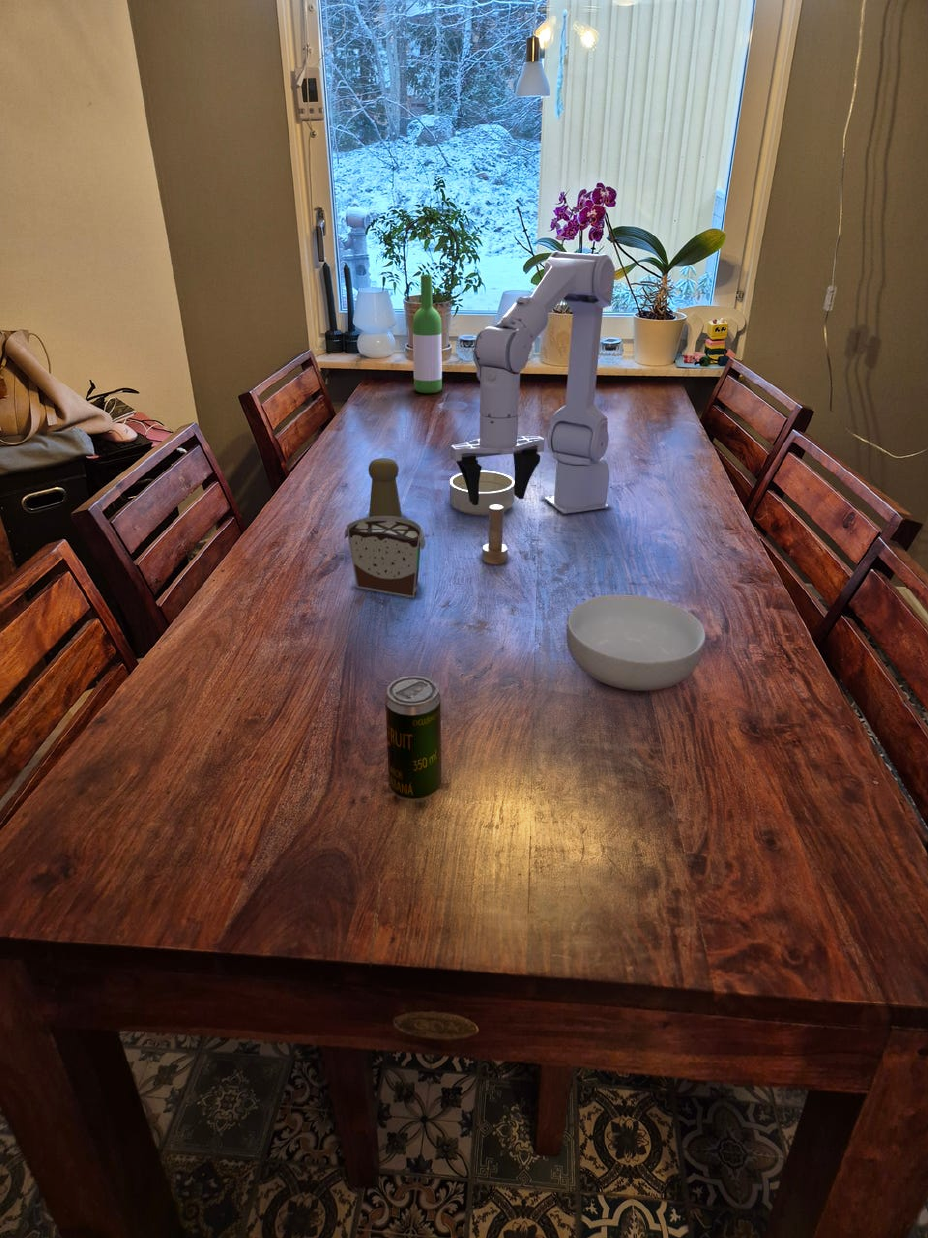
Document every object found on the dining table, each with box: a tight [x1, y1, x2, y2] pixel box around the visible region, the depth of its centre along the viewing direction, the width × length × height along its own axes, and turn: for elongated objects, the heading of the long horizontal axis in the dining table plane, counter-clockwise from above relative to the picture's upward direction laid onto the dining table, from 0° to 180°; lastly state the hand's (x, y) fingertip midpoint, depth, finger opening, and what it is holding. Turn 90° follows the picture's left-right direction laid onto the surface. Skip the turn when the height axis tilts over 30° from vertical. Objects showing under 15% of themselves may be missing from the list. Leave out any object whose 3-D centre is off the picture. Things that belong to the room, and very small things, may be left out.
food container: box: [344, 516, 426, 599], centre depth 122 cm, size 12×6×10 cm, turn 71°
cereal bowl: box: [566, 593, 707, 692], centre depth 101 cm, size 17×17×7 cm
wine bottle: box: [412, 273, 443, 394], centre depth 220 cm, size 8×8×30 cm
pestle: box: [482, 504, 509, 565], centre depth 130 cm, size 4×4×9 cm
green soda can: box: [384, 675, 442, 803], centre depth 81 cm, size 5×5×12 cm
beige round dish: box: [449, 470, 516, 516], centre depth 152 cm, size 12×12×4 cm
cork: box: [368, 457, 403, 518], centre depth 143 cm, size 6×6×11 cm
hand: (496, 499), depth 127 cm, fingers open, 7 cm apart
